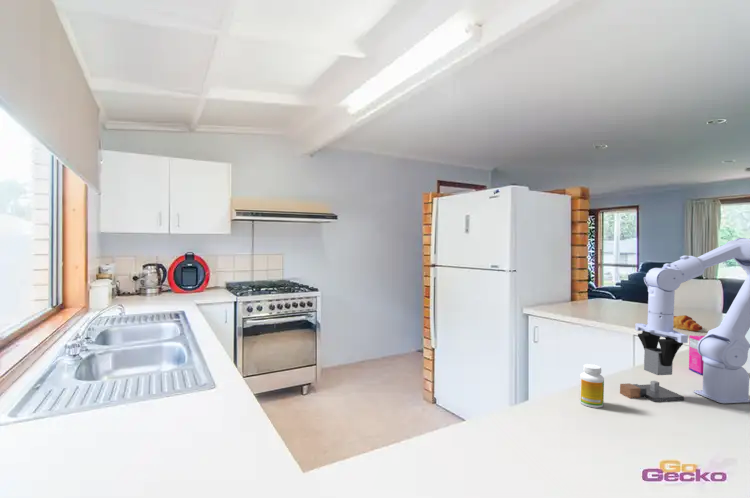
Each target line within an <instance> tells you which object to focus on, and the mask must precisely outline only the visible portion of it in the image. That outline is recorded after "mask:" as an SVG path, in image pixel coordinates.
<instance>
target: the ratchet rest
mask: <svg viewBox="0 0 750 498" xmlns="http://www.w3.org/2000/svg"><path fill="white" fill-rule="evenodd" d="M619 394H621V395H622V396H624V397H626V398H627V399H640V398H645V399H647V400H649V401H651V402H653V403H656V402H659V403H660V402H674V401H675V402H677V401H679V402H680V401H684V400H685V396H684V395H681V394H679V393H677V392H675V391H672V390H669V389H667V388H665V387H663V386H660V382H658V381H657V380H650V381H649V384H638V383H636V384H635V383H633V384H632V383H619Z"/></svg>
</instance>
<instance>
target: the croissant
mask: <svg viewBox="0 0 750 498" xmlns="http://www.w3.org/2000/svg"><path fill="white" fill-rule="evenodd" d="M674 328H675V329H678V330H686V331H689V332H690V331H691V332H699V331H701V330H703V326H702V325H700V324H699V323H697V321H696V320H695V319H694V318H693V317H690V316H688V315H683V314H682V315H677V316H676V315H674V321H673V329H674Z"/></svg>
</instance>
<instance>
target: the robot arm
mask: <svg viewBox="0 0 750 498" xmlns="http://www.w3.org/2000/svg"><path fill="white" fill-rule="evenodd" d="M730 260H734V261H735V262H736V263H737V264H738V265H739V266H740V267H741V268H742V270H744V271H745V273H746V278H745V280H744V282H743V283H742V285H741V287H740V288H739V290H738V292H737V294H736V296H735V298H734V299H733V301H732V303H731V305H730V306H729V308H728V310H727V312H726V313H725V316H724V317H723V319H722V321H721V323H720V324H719V326H717V327H715V328H712V329H710V330H708V332H707V333H706V335H704V336H705V337H703V338H702V339H700V341H699V342H698V344H697V350H698V353H699V354H700V355H701V356H702V360H703V361H704V364H703V375H702V389H700V390H693V393H694V394H697V395H699V396H702V397H705V398H707V399H710V400H712V401H714V402H716V403H719V404H739V403H740V404H742V403H750V399H749V392H750V376H749V373H748V372H747V370H746V368H744V367H743V366H744V365H745V364H746V363H747V362H748V353H749V350H750V342H749V341H748V339H747V338H746V335H747V333H748V332H749V330H750V238H748V237H747V238H746V237H737V238H736V239H733V240H729V241H727V242H726V243H725V244H722V245H720V246H718V247H716V248H714V249H712V250H710V251H707V252H705V253H703V254H702V255H699V256H698V257H696V256H695V255H682V256H679V259H678V260H676V261H673V262H671V263H667V262H666V263H664V264H663V266H662V267H653V268H650V269H649V270H648V271H647V273H646V274H645V276H644V277H643V282H644V284H645V285H646V287H647V292H648V296H647V297H648V300H647V321H646V323H647V324H645V323H641V322H640V323H637V322H636V323H635V324H634V327H635V329H634V330H635V331H637V332H641V333H637V337H638V338H639V340H640V342H641V344H642V347H643V349H644V351H645V348H658V345H659V348H661V353H662V365H663V366H671V365H672V362H673V361H674V358H675V357H676V354H677V352H678V351H679V350H680V348H681V347H682V346H683V345H684V344H688V341H689V335H688V334H683V333H681V332H679V331H677V330H674V328H673V321H674V316H675V294H676V292H675V291H676V290H678V288H680V286H681V284H683V283H687V282H688V281H690V280H692V279H695V278H698V277H700V276H702V275H704V274H705V270H706V269H707V268H710V267H713V266H716V265H719V264H722V263H724V262H727V261H730ZM672 366H673V365H672Z"/></svg>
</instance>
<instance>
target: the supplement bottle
mask: <svg viewBox="0 0 750 498" xmlns="http://www.w3.org/2000/svg"><path fill="white" fill-rule="evenodd" d="M582 370H583V372H581V373H580V375H579V397H578V398H579V400H578V401H579V403H580V404H581V405H583V406H586V407H587V408H588V407H589V408H594V409H599V408H600V409H601V408H603V406H604V394H605V393H604V392H605V390H604V389H605V378H604V376H603V375H602V367H601V365H596V364H594V363H584V364H583V369H582Z"/></svg>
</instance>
